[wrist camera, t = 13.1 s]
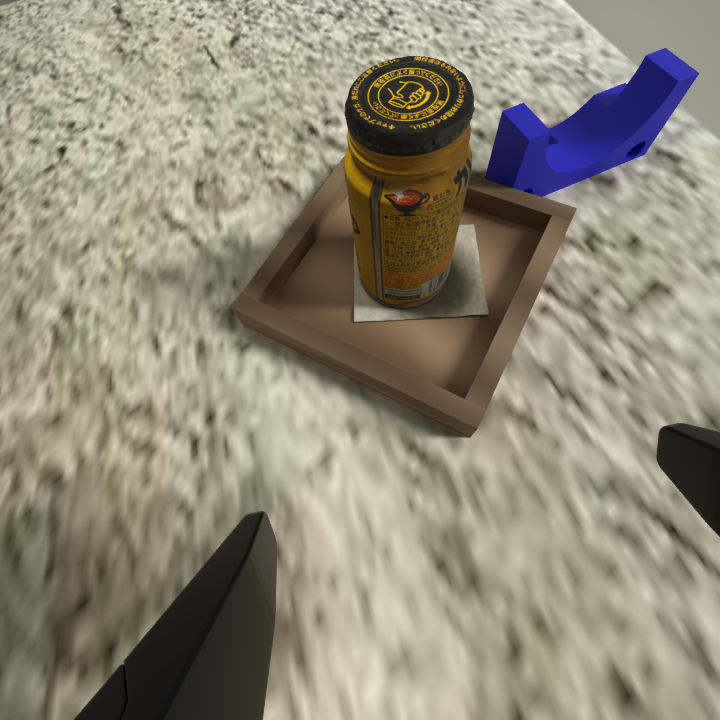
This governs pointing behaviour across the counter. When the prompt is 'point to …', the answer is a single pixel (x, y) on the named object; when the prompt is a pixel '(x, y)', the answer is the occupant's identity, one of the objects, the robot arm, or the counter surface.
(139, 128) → the counter surface
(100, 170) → the counter surface
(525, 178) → the cable clip
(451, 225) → the condiment
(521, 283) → the dock holder
